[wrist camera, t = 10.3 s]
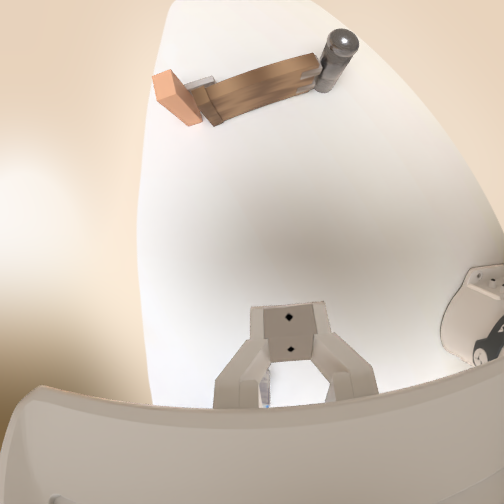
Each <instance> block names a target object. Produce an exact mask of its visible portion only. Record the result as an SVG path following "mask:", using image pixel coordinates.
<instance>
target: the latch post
mask: <svg viewBox="0 0 504 504" xmlns="http://www.w3.org/2000/svg"><path fill="white" fill-rule="evenodd" d="M152 79H153V84H154V89H155V94H156V99H157V101H158V102H159V103H160V104H161V105H163V106H164V107H165V108H166V109H168V110H169V111H170V112H171V113H173V114H174V115H175V116H176V117H177V118H179V119H180V120H181V121H182V122H184V123H185V124H186V125H187V126H191V125H195V124H198V123H201V122H202V118H201V114H200V110H199V108H198V107H197V105H196V103H195V100H194V98H193V95H192V93H191V91H192V90H194V89H196V88H198V87H201V86H203V85H204V87H205V88H206V87H209V86H211V85H214V84H216V82H215V80H214V78H213V76H210V77H206V78H203V79H200V80H197V81H194V82H191V83H188V84H185V85H183V84H182V83H181V81H180V80H179V79H178V78H177V76H176V75H175V74H174V73H173V72H172V70H171V69H170V70H167V71H164V72H162V73H159V74H157V75H154V76H152Z"/></svg>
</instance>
